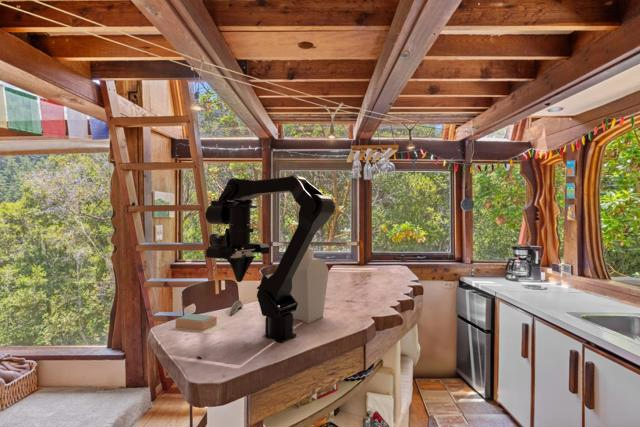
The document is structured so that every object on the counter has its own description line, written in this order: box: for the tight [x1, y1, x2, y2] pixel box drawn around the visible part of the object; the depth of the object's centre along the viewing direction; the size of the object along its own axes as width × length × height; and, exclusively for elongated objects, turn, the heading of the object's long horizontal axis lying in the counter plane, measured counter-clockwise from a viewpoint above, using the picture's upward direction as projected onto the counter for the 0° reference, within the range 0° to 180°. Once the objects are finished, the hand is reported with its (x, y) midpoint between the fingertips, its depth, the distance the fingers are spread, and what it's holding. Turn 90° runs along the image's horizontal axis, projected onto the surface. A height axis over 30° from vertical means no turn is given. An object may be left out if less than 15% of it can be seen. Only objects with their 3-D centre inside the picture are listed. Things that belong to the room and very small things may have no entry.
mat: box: [172, 322, 230, 334], centre depth 102 cm, size 12×9×1 cm
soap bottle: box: [289, 234, 329, 324], centre depth 114 cm, size 12×10×26 cm
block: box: [175, 313, 218, 331], centre depth 103 cm, size 2×6×9 cm
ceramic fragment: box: [224, 299, 244, 317], centre depth 120 cm, size 14×5×4 cm, turn 177°
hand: (239, 281), depth 102 cm, fingers closed
